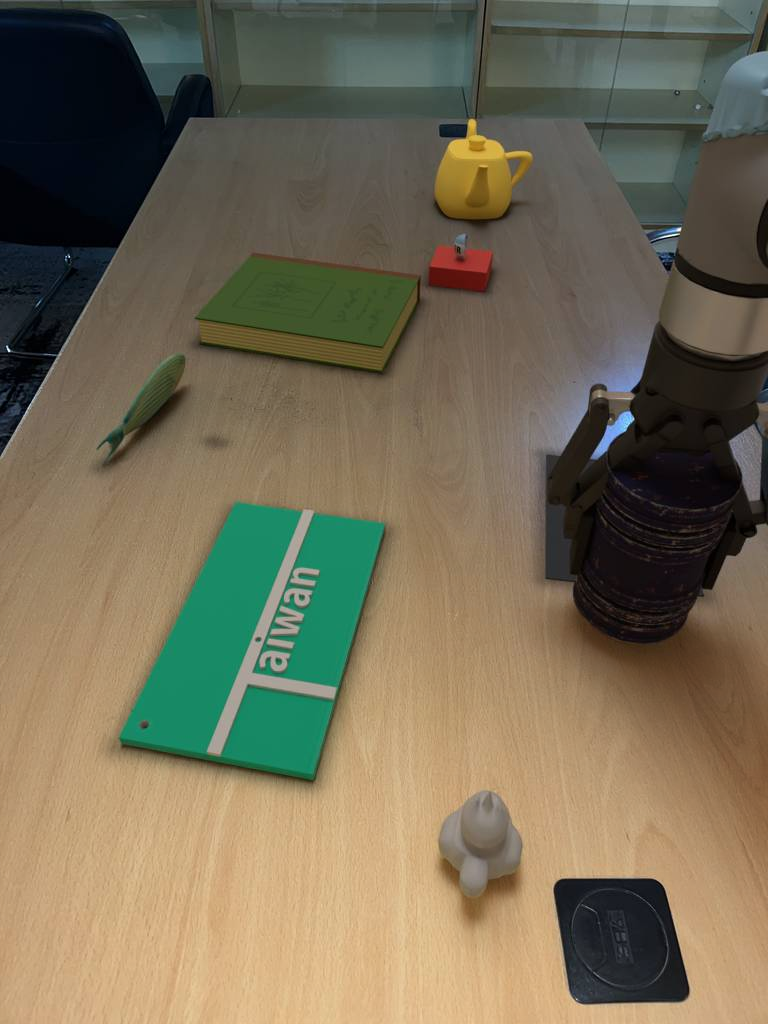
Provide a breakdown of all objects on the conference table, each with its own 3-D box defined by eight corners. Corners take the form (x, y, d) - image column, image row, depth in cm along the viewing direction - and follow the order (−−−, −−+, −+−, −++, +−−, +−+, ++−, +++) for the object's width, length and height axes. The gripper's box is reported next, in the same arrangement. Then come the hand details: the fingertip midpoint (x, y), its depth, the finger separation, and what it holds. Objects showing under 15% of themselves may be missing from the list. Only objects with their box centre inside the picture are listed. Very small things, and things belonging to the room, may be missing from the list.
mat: (703, 596, 72) (703, 595, 72) (545, 578, 73) (545, 577, 73) (680, 468, 85) (680, 467, 85) (546, 455, 86) (546, 454, 86)
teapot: (536, 233, 127) (546, 162, 119) (437, 233, 127) (441, 162, 119) (517, 180, 143) (525, 114, 136) (430, 179, 143) (433, 114, 135)
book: (419, 300, 111) (420, 275, 108) (382, 373, 98) (382, 346, 95) (250, 276, 116) (247, 251, 113) (193, 342, 103) (189, 316, 100)
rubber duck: (523, 826, 56) (539, 767, 51) (508, 922, 52) (524, 869, 46) (447, 806, 57) (455, 747, 52) (426, 898, 53) (432, 844, 47)
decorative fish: (95, 433, 80) (189, 474, 80) (176, 332, 91) (258, 369, 91) (95, 474, 85) (183, 512, 85) (171, 373, 96) (249, 408, 96)
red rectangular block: (428, 284, 114) (430, 242, 110) (437, 263, 119) (439, 221, 115) (484, 291, 113) (488, 248, 109) (491, 269, 118) (495, 227, 113)
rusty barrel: (711, 634, 66) (772, 499, 56) (600, 656, 64) (642, 521, 54) (655, 549, 73) (699, 416, 63) (553, 567, 72) (582, 433, 61)
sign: (312, 771, 58) (117, 735, 60) (313, 780, 59) (121, 743, 61) (385, 520, 77) (235, 499, 79) (385, 529, 78) (236, 508, 80)
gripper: (885, 315, 53) (771, 552, 68) (538, 289, 55) (504, 524, 70) (924, 379, 47) (790, 621, 62) (538, 347, 50) (500, 588, 65)
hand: (639, 570), depth 66 cm, fingers closed on rusty barrel, 10 cm apart
